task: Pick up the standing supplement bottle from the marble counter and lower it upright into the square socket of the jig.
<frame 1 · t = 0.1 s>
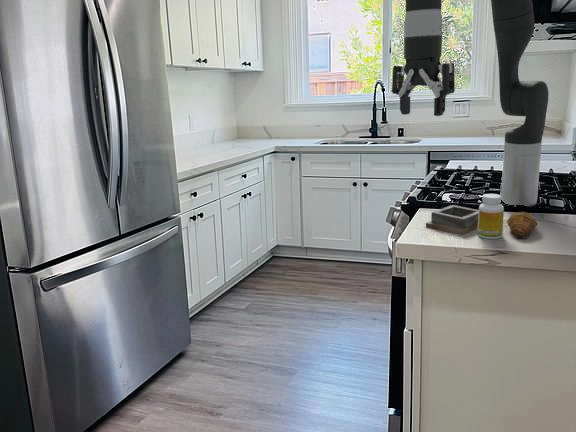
hand: (421, 114, 110), 29 cm above the worktop, fingers open, 8 cm apart
jig: (457, 225, 129), on the worktop
supplement bottle: (489, 236, 121), on the worktop
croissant: (521, 232, 123), on the worktop
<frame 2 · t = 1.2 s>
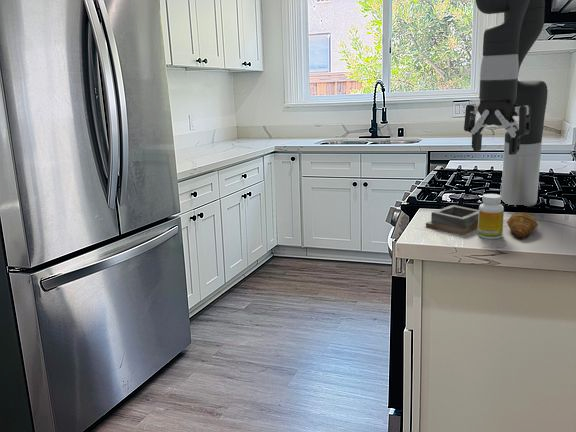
hand: (494, 152, 115), 20 cm above the worktop, fingers open, 8 cm apart
nothing on the worktop moved.
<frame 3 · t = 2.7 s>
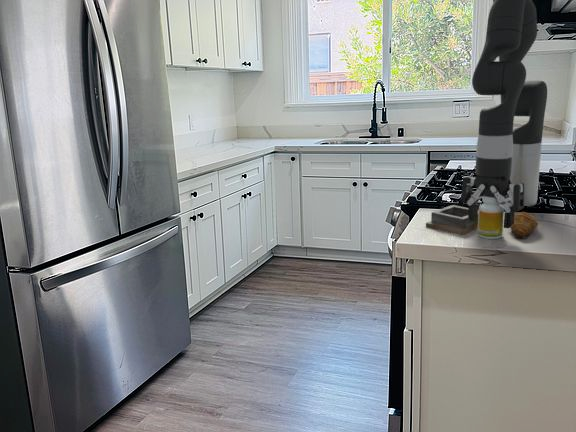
hand: (489, 223, 120), 3 cm above the worktop, fingers open, 8 cm apart
nothing on the worktop moved.
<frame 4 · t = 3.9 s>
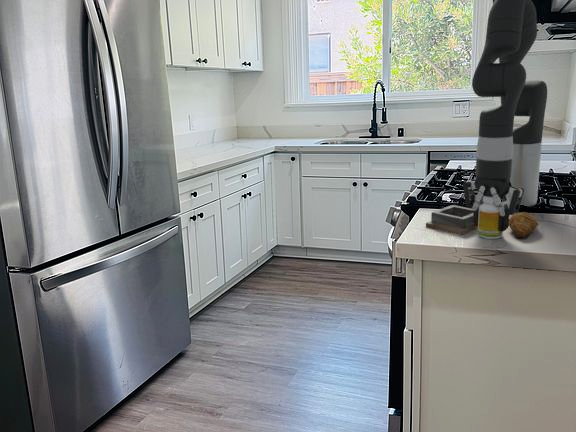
hand: (490, 227, 120), 2 cm above the worktop, fingers closed on supplement bottle, 5 cm apart
supplement bottle: (489, 236, 121), on the worktop, touching gripper
everything else where it was.
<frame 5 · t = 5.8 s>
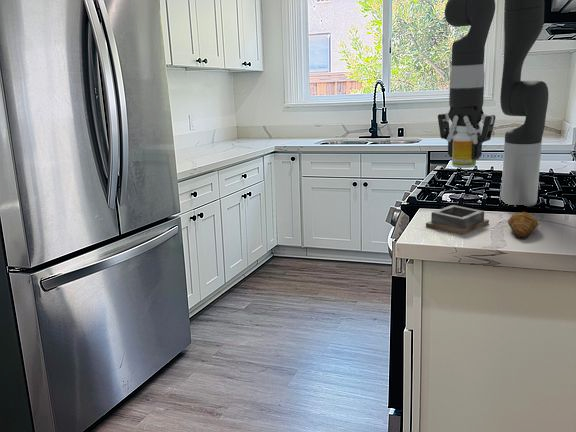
hand: (464, 157, 124), 17 cm above the worktop, fingers closed on supplement bottle, 5 cm apart
supplement bottle: (463, 166, 124), point 15 cm above the worktop, touching gripper
everything else where it was.
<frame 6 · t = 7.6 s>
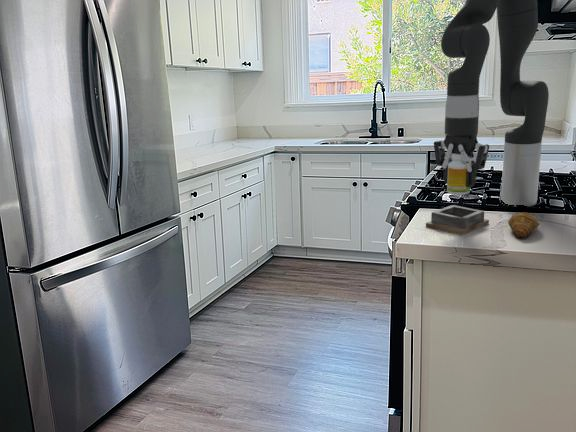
hand: (458, 184, 126), 10 cm above the worktop, fingers closed on supplement bottle, 5 cm apart
supplement bottle: (458, 193, 127), point 8 cm above the worktop, touching gripper
everything else where it was.
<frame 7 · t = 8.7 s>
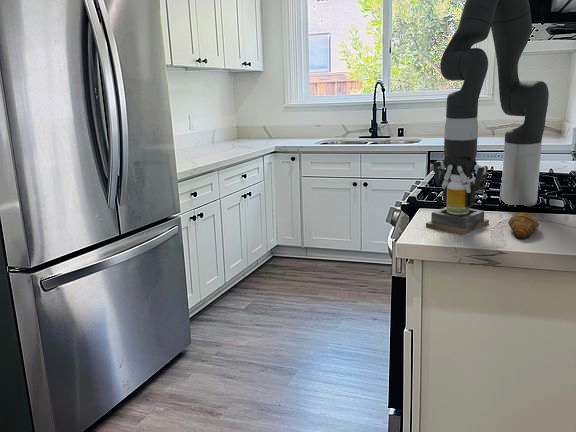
hand: (458, 204, 128), 5 cm above the worktop, fingers closed on supplement bottle, 5 cm apart
supplement bottle: (457, 213, 128), point 3 cm above the worktop, touching gripper
everything else where it was.
when the fingers open (5 cm above the worktop, at t = 9.8 s): supplement bottle drops 2 cm, resting on jig.
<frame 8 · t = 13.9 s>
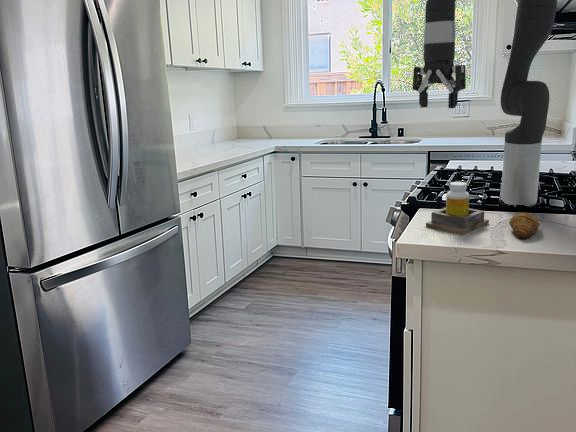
hand: (437, 107, 133), 28 cm above the worktop, fingers open, 8 cm apart
supplement bottle: (456, 222, 129), point 1 cm above the worktop, touching jig
everything else where it was.
at the end: supplement bottle 0.2 cm off-centre on the jig, point 0.8 cm above the jig's base; supplement bottle tilted 0°; the gripper is holding nothing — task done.
